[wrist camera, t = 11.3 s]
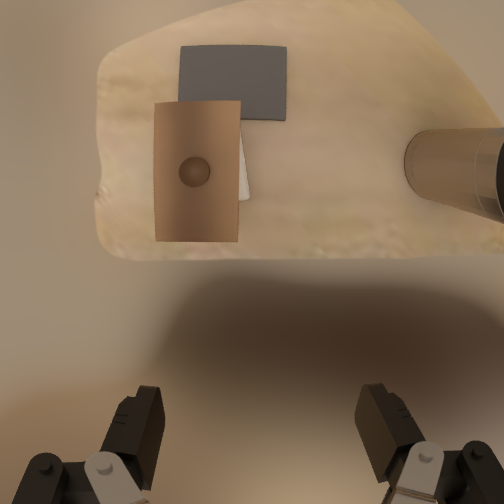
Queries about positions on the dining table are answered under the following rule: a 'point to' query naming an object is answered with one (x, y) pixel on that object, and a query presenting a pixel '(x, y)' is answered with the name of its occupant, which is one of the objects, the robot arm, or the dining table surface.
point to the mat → (236, 77)
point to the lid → (196, 171)
